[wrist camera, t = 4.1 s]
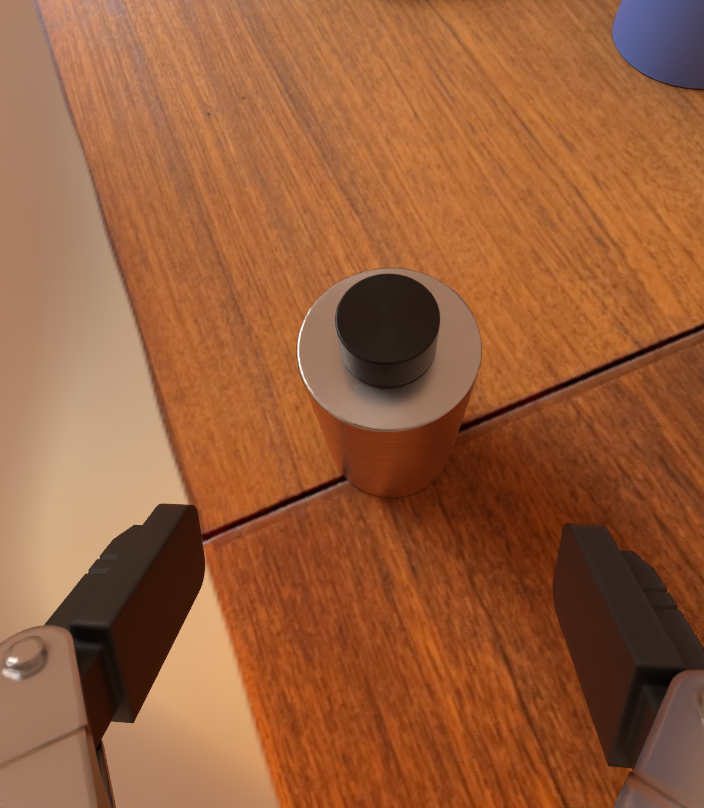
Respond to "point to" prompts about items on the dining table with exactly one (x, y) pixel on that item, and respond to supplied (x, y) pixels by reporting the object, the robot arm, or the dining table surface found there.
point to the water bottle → (663, 39)
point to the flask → (389, 376)
